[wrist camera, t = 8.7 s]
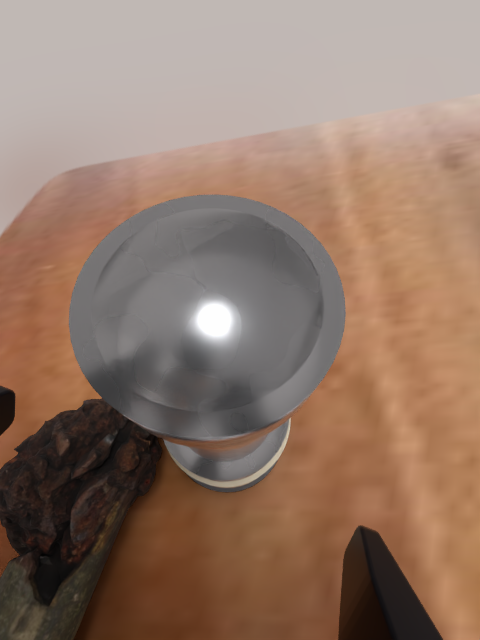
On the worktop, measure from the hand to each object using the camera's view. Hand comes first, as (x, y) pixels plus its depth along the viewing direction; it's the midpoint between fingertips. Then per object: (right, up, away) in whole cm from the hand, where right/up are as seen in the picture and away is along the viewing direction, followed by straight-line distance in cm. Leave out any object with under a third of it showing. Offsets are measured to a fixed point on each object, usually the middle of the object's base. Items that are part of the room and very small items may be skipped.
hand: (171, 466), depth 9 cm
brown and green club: (-8, -9, +11) cm, 16 cm away
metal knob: (+1, -1, +9) cm, 9 cm away
